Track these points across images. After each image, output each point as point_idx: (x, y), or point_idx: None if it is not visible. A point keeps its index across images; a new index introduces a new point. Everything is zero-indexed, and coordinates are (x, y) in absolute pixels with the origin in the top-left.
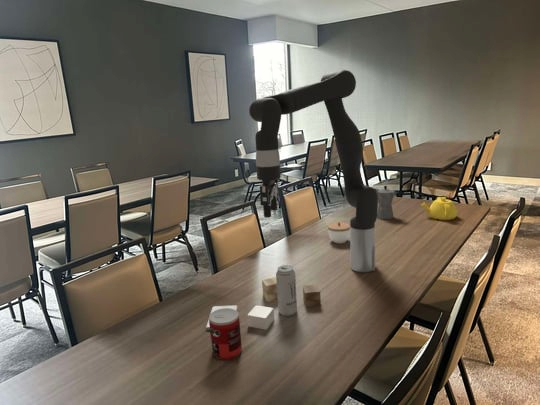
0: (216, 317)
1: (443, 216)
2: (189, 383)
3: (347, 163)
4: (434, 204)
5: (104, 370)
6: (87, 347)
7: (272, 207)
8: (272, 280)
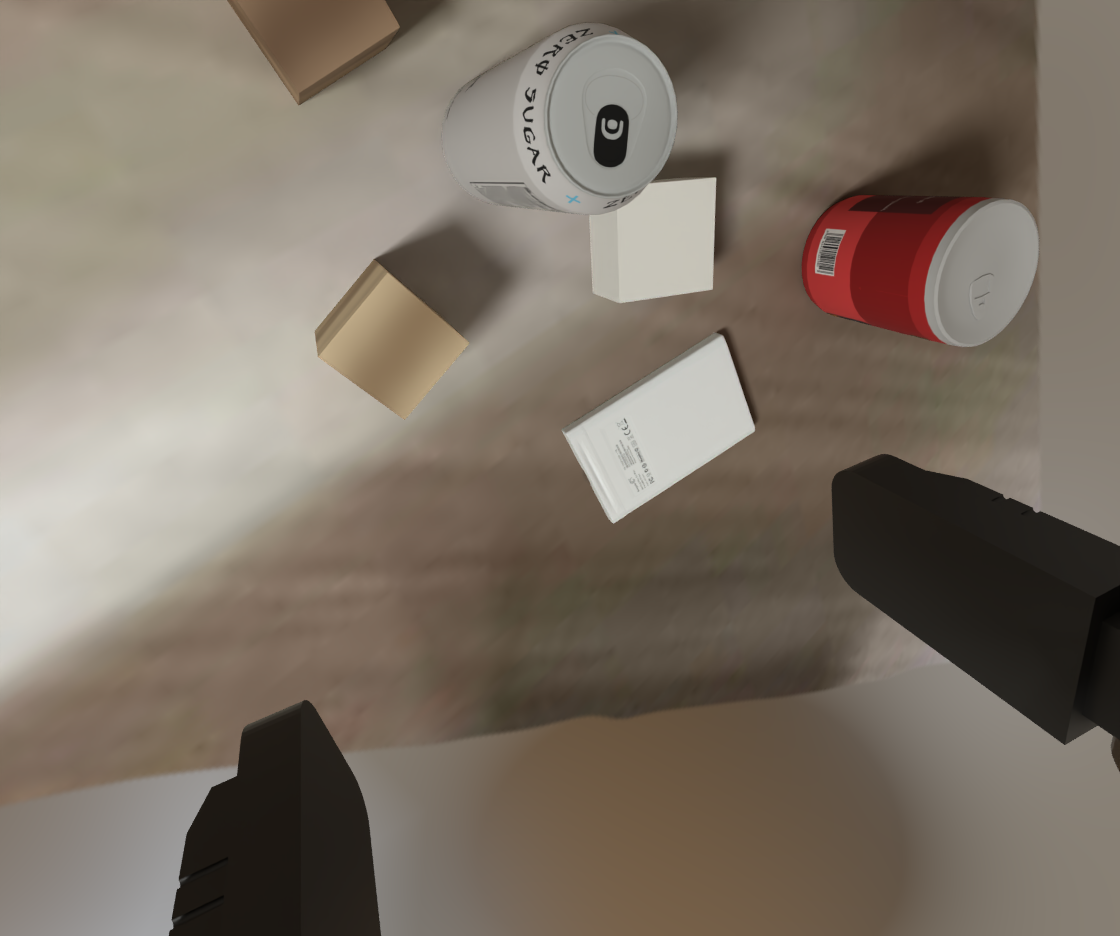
0: (989, 304)
1: None
2: None
3: None
4: None
5: None
6: (887, 655)
7: (351, 821)
8: (376, 349)
